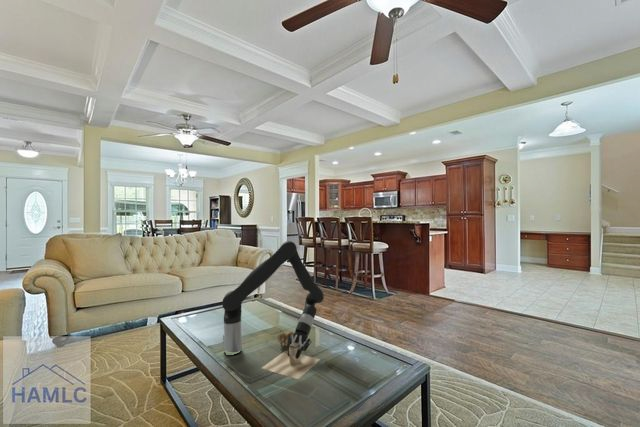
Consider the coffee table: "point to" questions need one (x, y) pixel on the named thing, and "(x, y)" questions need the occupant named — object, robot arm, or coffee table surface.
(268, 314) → the coffee table surface
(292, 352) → the white block
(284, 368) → the wooden board
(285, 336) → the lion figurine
